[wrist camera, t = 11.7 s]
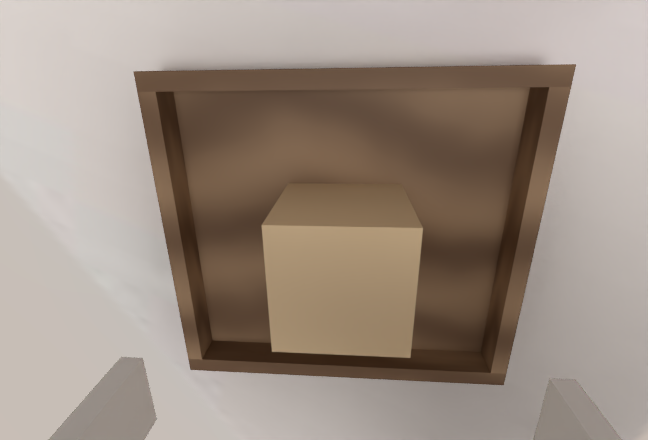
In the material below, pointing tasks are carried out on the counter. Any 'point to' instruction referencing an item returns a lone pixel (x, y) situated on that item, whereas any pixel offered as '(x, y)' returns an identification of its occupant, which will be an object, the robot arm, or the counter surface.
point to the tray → (356, 168)
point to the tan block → (342, 269)
